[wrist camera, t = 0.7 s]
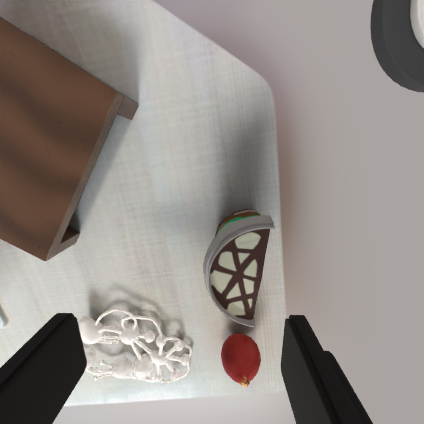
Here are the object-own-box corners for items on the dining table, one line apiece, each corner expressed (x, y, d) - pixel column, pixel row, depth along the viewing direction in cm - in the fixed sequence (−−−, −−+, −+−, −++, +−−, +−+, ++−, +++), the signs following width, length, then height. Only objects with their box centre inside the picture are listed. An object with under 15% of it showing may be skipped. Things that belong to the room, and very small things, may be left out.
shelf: (30, 36, 23) (-24, 1, 18) (138, 105, 25) (117, 91, 20) (-16, 194, 29) (-69, 203, 23) (75, 243, 30) (45, 261, 25)
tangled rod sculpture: (206, 324, 35) (206, 344, 31) (178, 386, 38) (174, 412, 34) (96, 288, 33) (81, 305, 29) (74, 357, 36) (57, 381, 32)
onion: (243, 353, 35) (250, 408, 27) (214, 339, 34) (213, 392, 27) (261, 330, 34) (275, 382, 26) (232, 315, 33) (237, 364, 25)
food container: (211, 194, 28) (208, 215, 18) (256, 199, 28) (276, 222, 18) (203, 272, 31) (196, 325, 21) (243, 277, 31) (254, 331, 21)
